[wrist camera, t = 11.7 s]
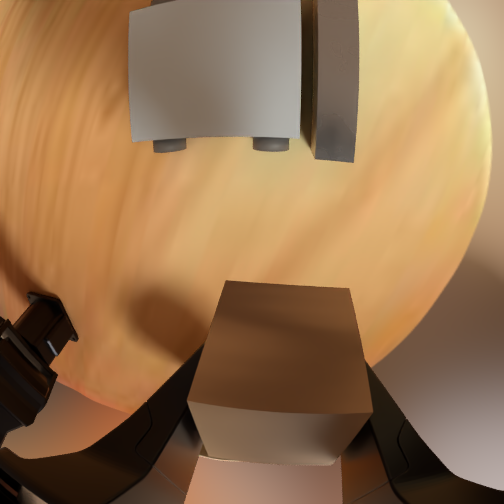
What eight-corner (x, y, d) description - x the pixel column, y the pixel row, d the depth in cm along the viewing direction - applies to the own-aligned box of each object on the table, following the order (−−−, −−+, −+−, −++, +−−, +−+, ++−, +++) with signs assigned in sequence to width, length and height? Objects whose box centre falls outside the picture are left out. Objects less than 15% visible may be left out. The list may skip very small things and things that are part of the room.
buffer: (310, 149, 16) (314, 159, 14) (312, -4, 11) (316, -22, 8) (343, 152, 16) (353, 162, 13) (345, 0, 11) (356, -16, 8)
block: (231, 358, 11) (208, 456, 7) (225, 280, 9) (186, 400, 5) (327, 364, 11) (331, 464, 7) (349, 288, 9) (372, 412, 5)
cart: (154, 147, 17) (133, 157, 14) (152, 10, 12) (130, -1, 10) (297, 146, 16) (298, 156, 14) (298, -4, 11) (299, -22, 9)
